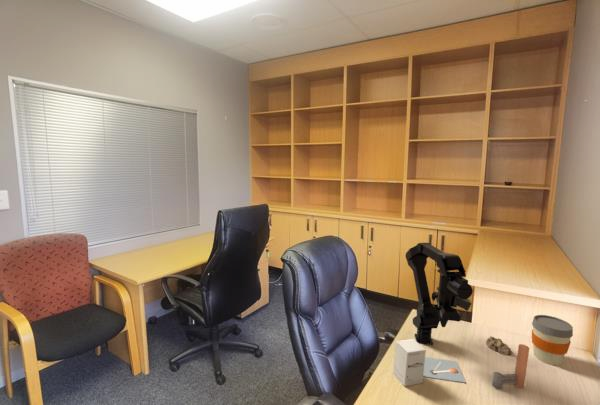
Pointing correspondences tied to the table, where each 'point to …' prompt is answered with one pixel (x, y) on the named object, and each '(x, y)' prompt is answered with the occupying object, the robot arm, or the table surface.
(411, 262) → the robot arm
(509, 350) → the mineral rock
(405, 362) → the supplement box
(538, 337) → the reusable coffee cup
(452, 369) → the card
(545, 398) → the table surface
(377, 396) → the table surface
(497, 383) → the orange grey t-shaped piece
